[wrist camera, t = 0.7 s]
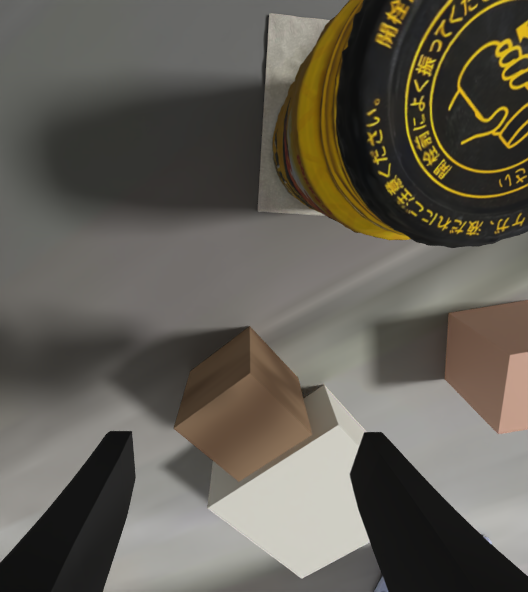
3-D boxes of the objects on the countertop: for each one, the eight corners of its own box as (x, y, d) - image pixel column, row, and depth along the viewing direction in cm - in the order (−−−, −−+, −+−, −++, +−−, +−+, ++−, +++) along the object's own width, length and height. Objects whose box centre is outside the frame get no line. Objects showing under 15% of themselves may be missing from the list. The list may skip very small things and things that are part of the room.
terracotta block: (516, 366, 22) (590, 419, 17) (444, 378, 22) (498, 434, 17) (527, 299, 20) (613, 337, 15) (448, 312, 20) (509, 354, 15)
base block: (396, 462, 25) (422, 513, 21) (294, 522, 27) (301, 578, 23) (322, 381, 22) (338, 424, 18) (213, 455, 24) (207, 508, 20)
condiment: (257, 211, 17) (277, 281, 6) (269, 14, 14) (355, -617, 3) (388, 219, 18) (637, 299, 6) (427, 32, 15) (1027, -444, 3)
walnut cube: (297, 376, 21) (312, 434, 16) (240, 416, 22) (238, 481, 17) (249, 325, 20) (250, 372, 15) (190, 370, 20) (173, 428, 16)
